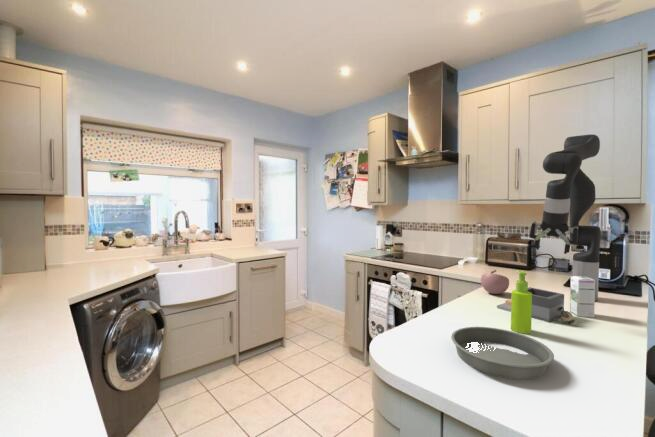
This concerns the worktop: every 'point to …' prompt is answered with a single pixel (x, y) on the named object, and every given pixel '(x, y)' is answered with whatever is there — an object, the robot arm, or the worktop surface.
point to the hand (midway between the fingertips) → (551, 250)
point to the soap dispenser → (521, 306)
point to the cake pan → (503, 352)
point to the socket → (541, 304)
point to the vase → (567, 316)
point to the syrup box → (582, 296)
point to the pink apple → (494, 283)
